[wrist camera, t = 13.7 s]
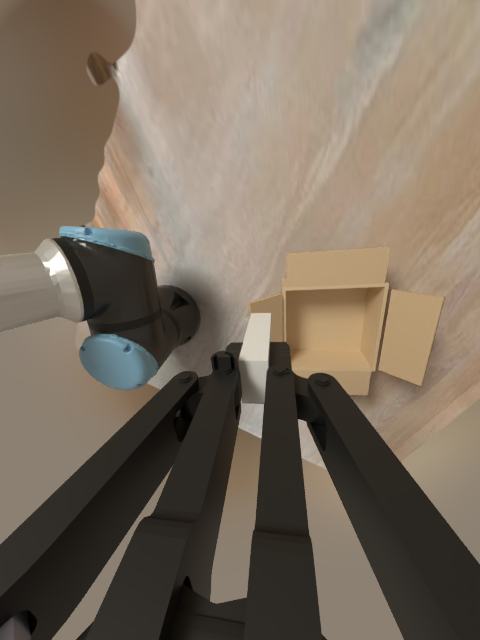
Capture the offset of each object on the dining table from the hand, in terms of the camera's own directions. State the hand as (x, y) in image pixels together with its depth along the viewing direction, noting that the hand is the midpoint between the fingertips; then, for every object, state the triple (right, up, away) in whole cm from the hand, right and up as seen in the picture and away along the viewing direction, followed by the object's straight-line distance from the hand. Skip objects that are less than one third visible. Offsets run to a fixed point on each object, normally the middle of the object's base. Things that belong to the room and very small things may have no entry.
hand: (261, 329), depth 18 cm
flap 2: (+24, -1, +25) cm, 35 cm away
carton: (+17, +2, +34) cm, 38 cm away
